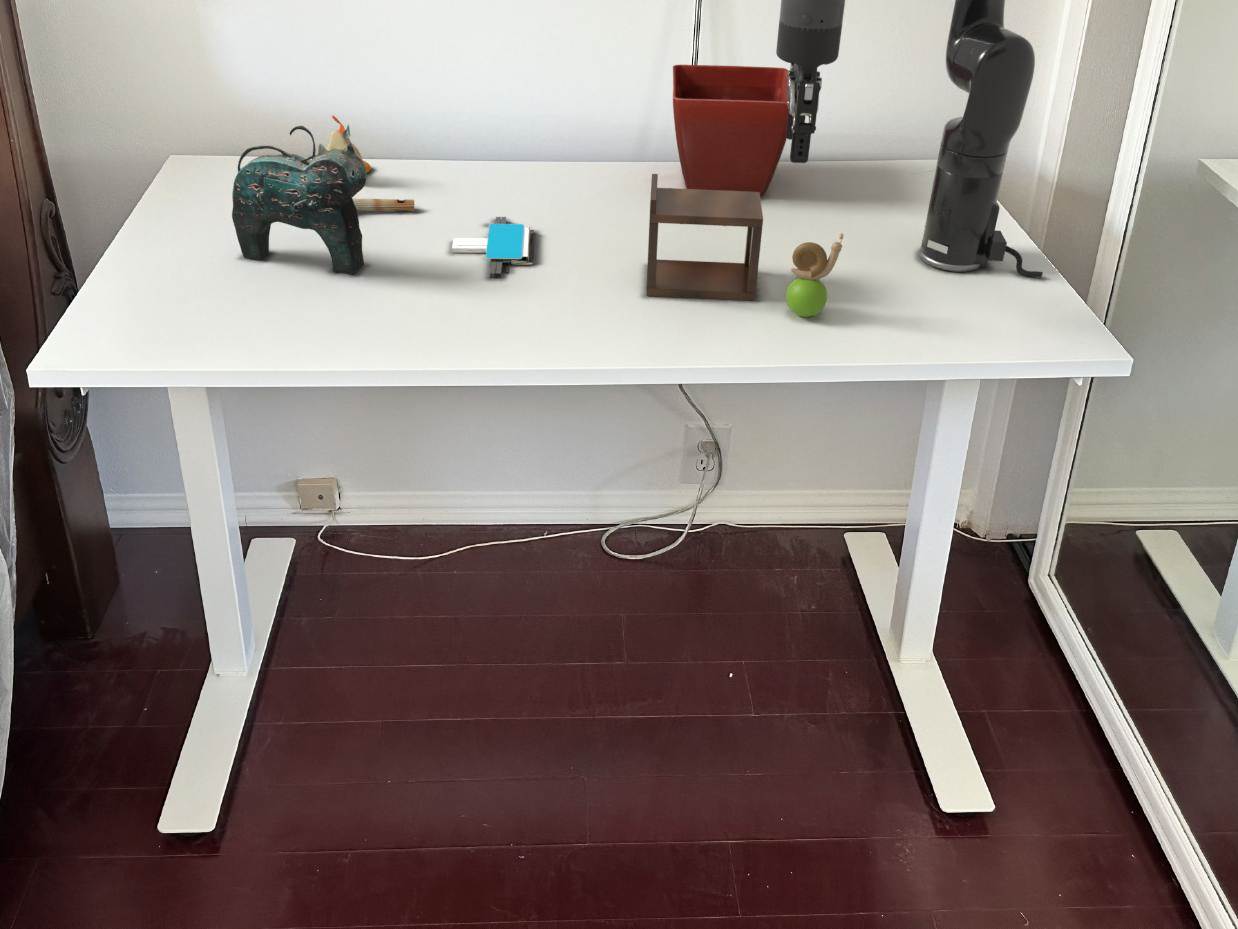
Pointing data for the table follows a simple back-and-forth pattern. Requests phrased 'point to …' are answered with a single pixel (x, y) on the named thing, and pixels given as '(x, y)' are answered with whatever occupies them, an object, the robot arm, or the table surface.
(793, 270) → the snail figurine
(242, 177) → the ceramic cat
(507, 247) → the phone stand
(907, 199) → the table surface
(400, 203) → the ribbed wooden cylinder
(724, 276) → the box
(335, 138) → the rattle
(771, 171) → the flower pot
